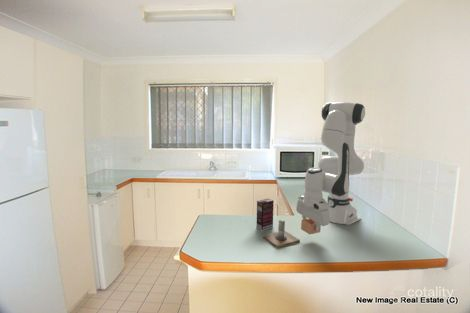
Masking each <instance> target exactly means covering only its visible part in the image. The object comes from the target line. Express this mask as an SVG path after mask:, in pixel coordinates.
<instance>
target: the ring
mask: <svg viewBox="0 0 470 313" xmlns="http://www.w3.org/2000/svg"><path fill="white" fill-rule="evenodd" d="M300 226H301V227H300V229H301V230H302V231H303V232H305V233H307V234H308V235H310V236H311V235H313V234H318V233H321V226H322V225H321V226H320V227H319V231H316V230H314V229H315V228H314V227H315V226H317V224H316V222H314V221H312V220H311V219H309V218H307V219H304V220H303V219H301V224H300Z"/></svg>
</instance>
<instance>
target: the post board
mask: <svg viewBox="0 0 470 313" xmlns="http://www.w3.org/2000/svg"><path fill="white" fill-rule="evenodd" d="M285 224H286V221H285V219H279V220H278V228H277V229H278V230H277V231H278V232H274V233H270V234H266V235H262V239H263V240H265V241H266V242H267V243H269V244H270V245H272V246H273V247H275V248H276V249H280V248H283V247H287V246H290V245H294V244H298V243H300V242H301V240H300V239H299V238H297V237H296V236H294V235H293V234H291V233H289V232H288V231H286V230H285V226H286V225H285Z"/></svg>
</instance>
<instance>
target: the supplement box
mask: <svg viewBox="0 0 470 313" xmlns="http://www.w3.org/2000/svg"><path fill="white" fill-rule="evenodd" d="M272 228H274V199H270V198H265V199H261V200H256V229H257V230H259V231H261V232H263V231H266V229H267V230H269V229H272Z"/></svg>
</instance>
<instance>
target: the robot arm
mask: <svg viewBox="0 0 470 313" xmlns="http://www.w3.org/2000/svg"><path fill="white" fill-rule="evenodd" d="M365 116H366V108H365V106H364V104H362V103H354V102H349V101H348V102H346V101H344V102H331V101H330V102H326V103H325V104H324V105H323V106H322V109H321V118H322V120H324V124H323V127H322V131H321V137H320V140H321V143H322V144H323V146H324V147H325V148H326V149H328V150H330V151H332V152H333V153H335V154H336V155H327V156H322V157H321V158H320V159H319V160H318V163H317V167H315V166H314V167H309V168H308V169H307V170H306V172H305V173H306V174H305V178H304V192H303V195H299V197H298V200H297V203H296V208H295V209H296V210H295V211H296V212H297V213H298V214H300V215H301V218H302V220H304V219H308V218H309V219H311V220H312V221H314V222H316V224H317V226H315V227H314V228H315V229H314V230H316V231H319V227H320V226H322V227H326V226H328V225H329V224H330V223H333V224H340V225H348V226H350V225H352V224H354V223H356V222H359V221H360V220H361V219H362V218H361V217H360V215H357V214H358V212H357V208H355V207H354V206H353V205H352V204H351V202H353V200H354V198H353V197H349V193H350V191H349V190H350V176H356V175H360V174H362V173H363V171H364V168H365V162H364V160H363V159H362V158H361V157H359V155H358V154H357V153H356V150H355V136H356V125H358V124H360V123H362V122H363V120H364V119H365ZM323 193H328V194H327V201H326V199H324V198H323V196H324V195H323Z"/></svg>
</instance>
